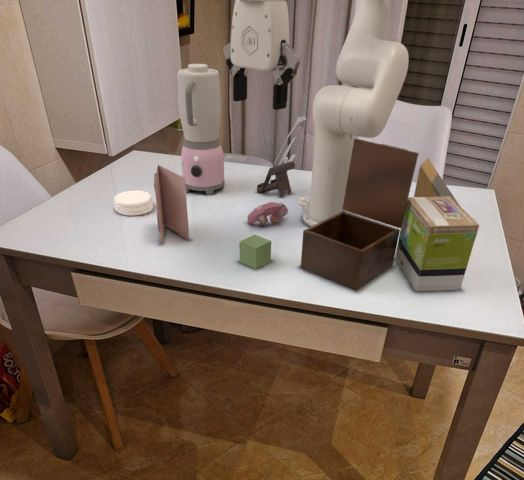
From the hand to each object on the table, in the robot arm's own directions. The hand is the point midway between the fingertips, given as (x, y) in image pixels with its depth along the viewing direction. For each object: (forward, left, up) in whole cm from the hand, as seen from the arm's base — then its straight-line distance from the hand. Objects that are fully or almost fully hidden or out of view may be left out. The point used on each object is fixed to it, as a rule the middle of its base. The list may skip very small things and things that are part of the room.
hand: (259, 104), depth 91 cm
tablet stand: (-25, +37, -32) cm, 55 cm away
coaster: (-44, 0, -32) cm, 55 cm away
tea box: (+30, +21, -32) cm, 49 cm away
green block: (0, 0, -32) cm, 32 cm away
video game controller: (-12, +18, -32) cm, 39 cm away
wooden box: (+16, +12, -32) cm, 38 cm away
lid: (+16, +19, -16) cm, 30 cm away
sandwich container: (+21, +49, -32) cm, 62 cm away
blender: (-42, +23, -32) cm, 58 cm away
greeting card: (-24, -3, -32) cm, 41 cm away
